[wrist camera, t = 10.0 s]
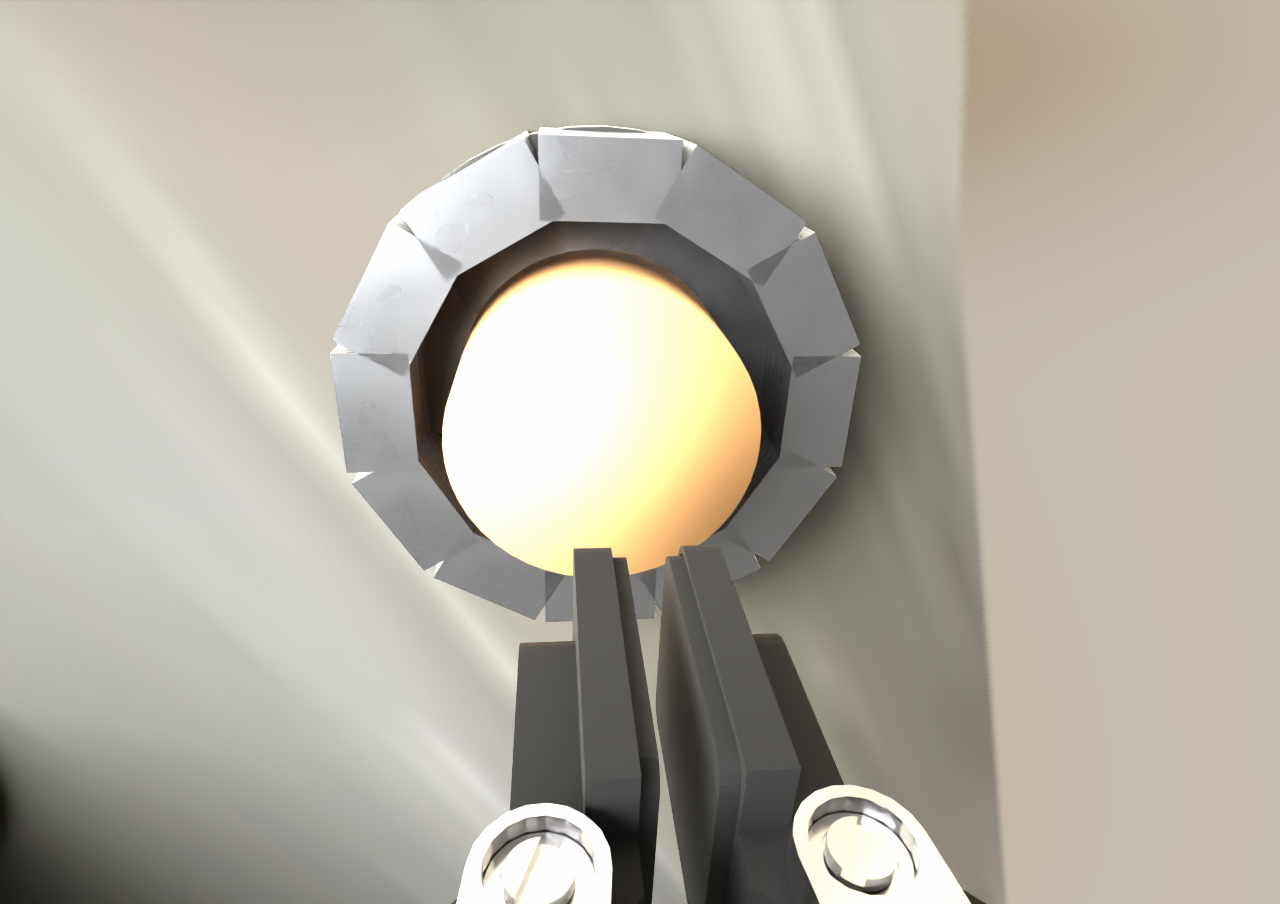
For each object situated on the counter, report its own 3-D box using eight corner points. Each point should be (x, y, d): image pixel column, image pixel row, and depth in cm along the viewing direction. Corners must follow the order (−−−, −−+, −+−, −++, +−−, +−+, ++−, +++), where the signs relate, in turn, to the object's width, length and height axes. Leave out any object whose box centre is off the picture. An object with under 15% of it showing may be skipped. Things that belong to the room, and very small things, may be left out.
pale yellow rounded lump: (711, 494, 22) (743, 574, 18) (468, 496, 21) (452, 580, 18) (737, 252, 19) (780, 293, 15) (454, 244, 18) (430, 285, 15)
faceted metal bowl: (789, 556, 24) (818, 615, 22) (387, 567, 23) (365, 630, 20) (853, 135, 19) (903, 143, 16) (330, 114, 17) (290, 118, 15)
